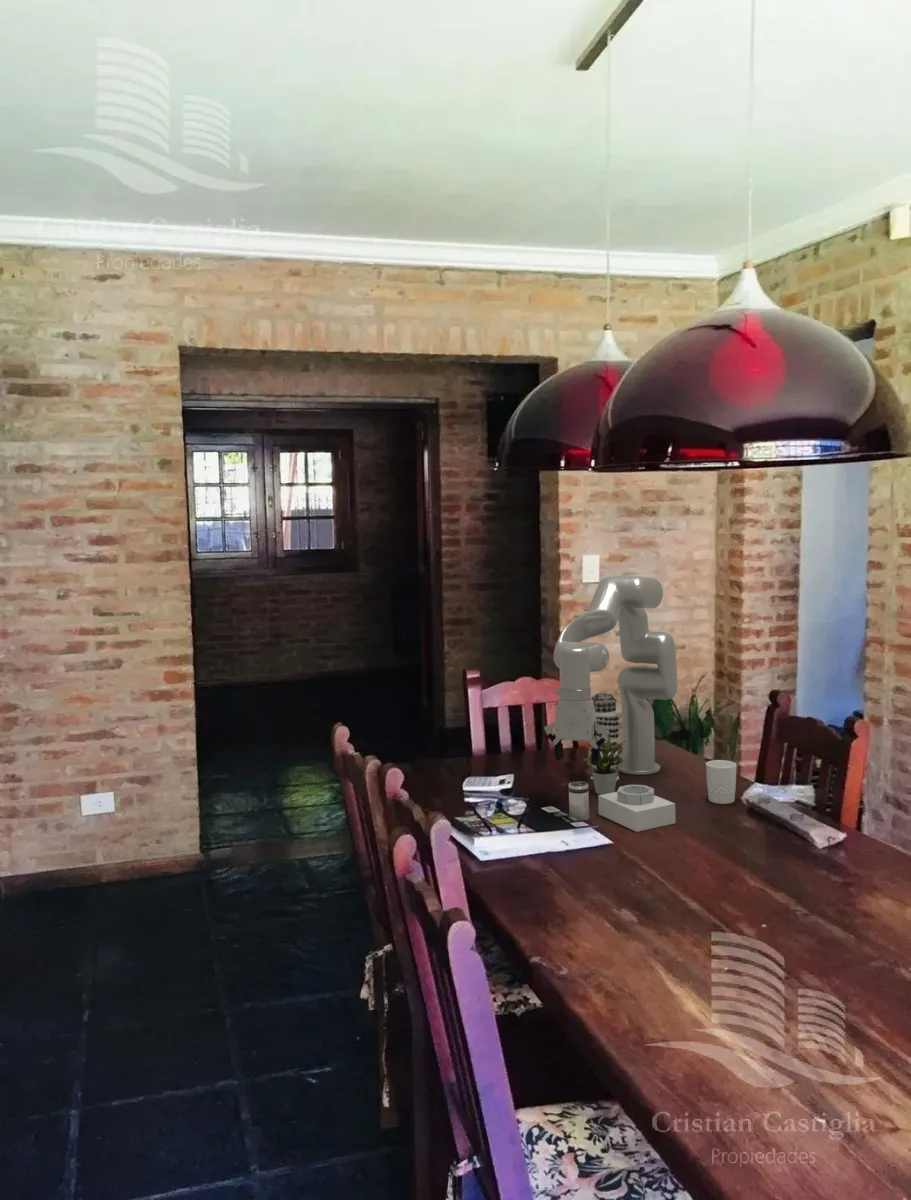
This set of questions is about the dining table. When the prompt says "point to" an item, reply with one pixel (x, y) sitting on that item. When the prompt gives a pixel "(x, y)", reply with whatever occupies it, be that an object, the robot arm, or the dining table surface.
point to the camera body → (637, 808)
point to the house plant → (606, 769)
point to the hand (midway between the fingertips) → (577, 761)
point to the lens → (579, 800)
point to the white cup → (721, 781)
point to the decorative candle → (606, 724)
